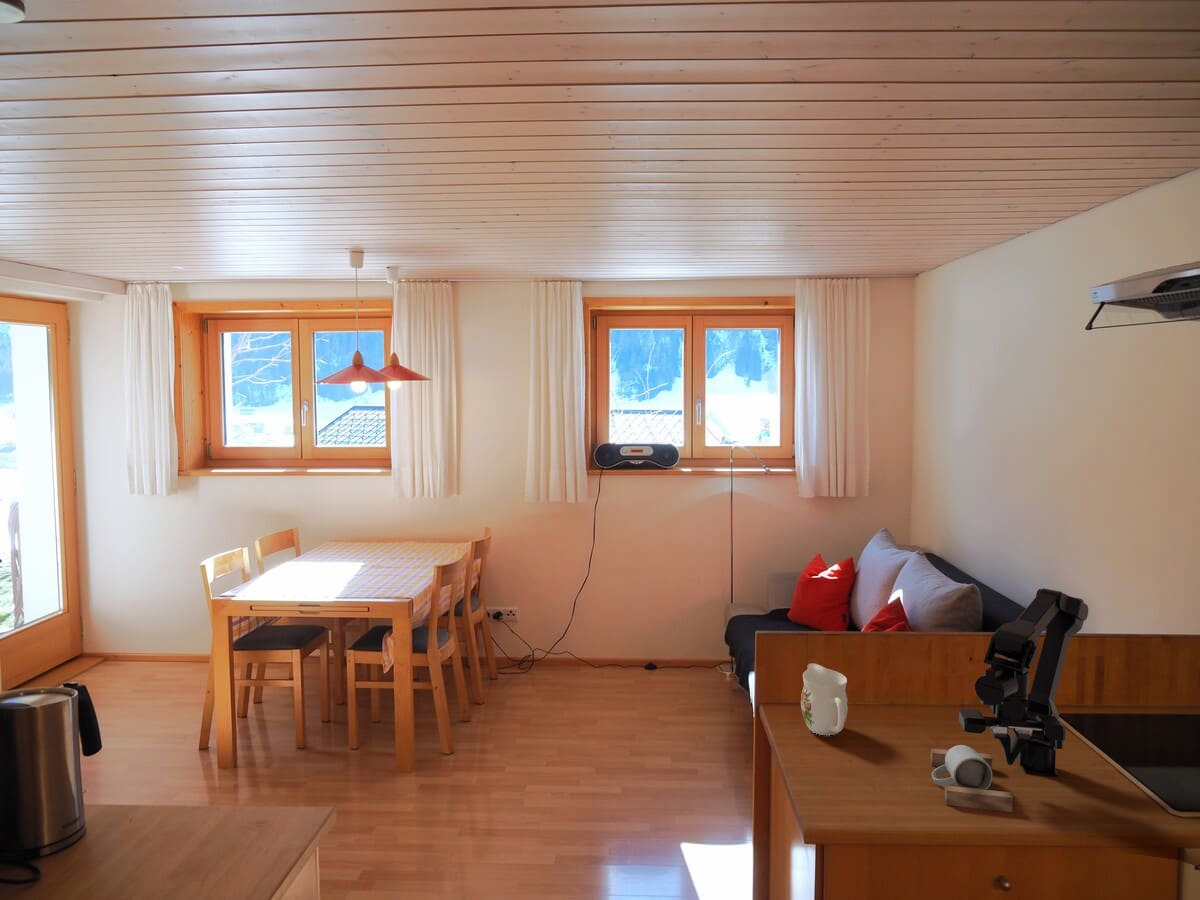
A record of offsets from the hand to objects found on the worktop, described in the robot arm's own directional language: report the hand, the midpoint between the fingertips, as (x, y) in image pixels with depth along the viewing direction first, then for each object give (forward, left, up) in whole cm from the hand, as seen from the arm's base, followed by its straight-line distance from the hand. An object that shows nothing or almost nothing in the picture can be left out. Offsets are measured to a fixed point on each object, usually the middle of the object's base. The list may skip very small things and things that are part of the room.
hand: (1009, 763), depth 160 cm
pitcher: (+36, -19, -6) cm, 41 cm away
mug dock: (+8, 0, -6) cm, 9 cm away
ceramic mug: (+9, 0, -6) cm, 11 cm away
